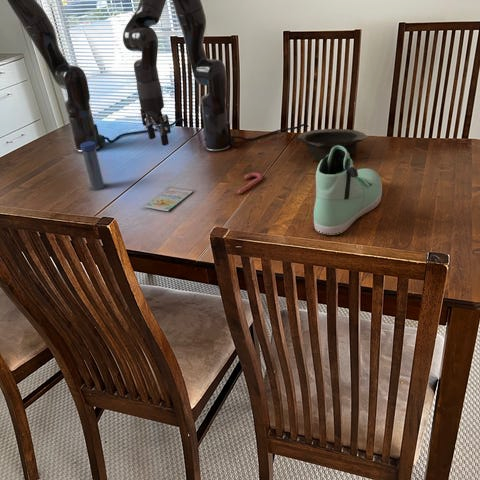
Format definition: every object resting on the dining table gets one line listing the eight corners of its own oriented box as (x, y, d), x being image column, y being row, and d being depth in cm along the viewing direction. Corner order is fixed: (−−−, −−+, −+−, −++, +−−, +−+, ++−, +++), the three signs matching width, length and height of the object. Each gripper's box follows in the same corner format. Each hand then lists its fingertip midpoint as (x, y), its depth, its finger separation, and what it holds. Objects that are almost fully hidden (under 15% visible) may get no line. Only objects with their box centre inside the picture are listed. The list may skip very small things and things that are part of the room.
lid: (78, 149, 157) (77, 144, 157) (91, 145, 160) (90, 140, 159) (85, 152, 154) (84, 147, 153) (98, 148, 157) (97, 143, 156)
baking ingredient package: (143, 206, 148) (170, 186, 159) (143, 207, 148) (170, 188, 159) (167, 210, 144) (192, 190, 156) (167, 211, 144) (193, 191, 156)
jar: (89, 187, 165) (78, 145, 157) (100, 183, 167) (90, 141, 159) (95, 191, 162) (85, 148, 154) (106, 186, 164) (97, 144, 156)
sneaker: (389, 187, 148) (396, 123, 138) (356, 242, 123) (361, 168, 112) (346, 181, 154) (350, 119, 144) (306, 232, 129) (307, 161, 118)
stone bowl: (324, 173, 160) (323, 146, 156) (284, 156, 180) (283, 132, 176) (382, 155, 169) (382, 129, 165) (338, 140, 189) (337, 117, 185)
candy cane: (225, 192, 154) (224, 187, 153) (251, 174, 164) (250, 170, 163) (240, 195, 151) (240, 191, 150) (265, 177, 161) (265, 173, 160)
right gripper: (172, 95, 150) (179, 143, 159) (149, 87, 159) (157, 133, 168) (151, 101, 146) (160, 150, 155) (129, 92, 156) (138, 139, 165)
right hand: (158, 141), depth 162 cm, fingers open, 8 cm apart
